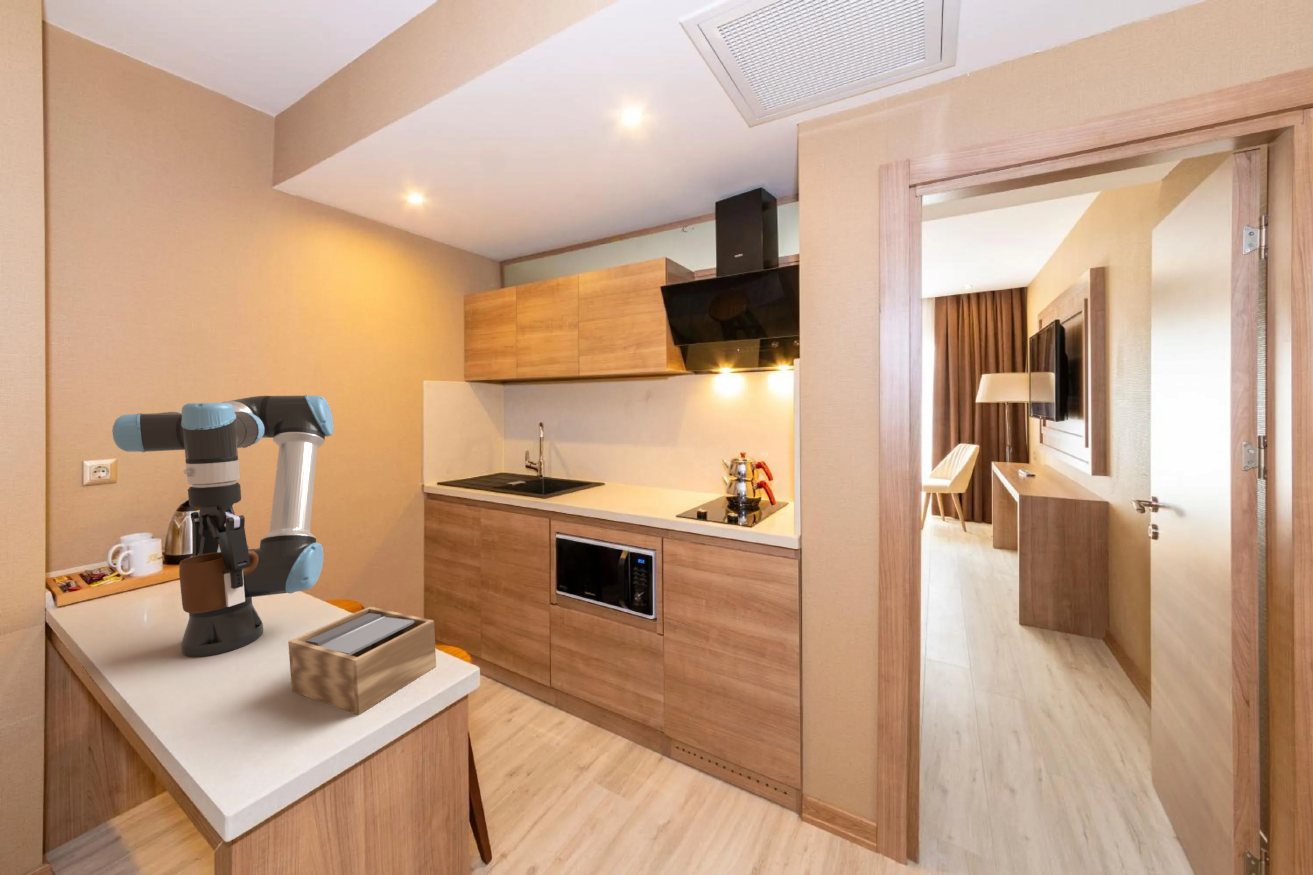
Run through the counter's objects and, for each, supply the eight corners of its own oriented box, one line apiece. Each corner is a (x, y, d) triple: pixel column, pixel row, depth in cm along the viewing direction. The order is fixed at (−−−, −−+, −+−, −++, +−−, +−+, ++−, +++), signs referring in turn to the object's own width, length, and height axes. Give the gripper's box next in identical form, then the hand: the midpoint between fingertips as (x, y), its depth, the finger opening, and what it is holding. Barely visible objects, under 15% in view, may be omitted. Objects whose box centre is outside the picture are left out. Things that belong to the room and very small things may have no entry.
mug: (251, 588, 104) (248, 543, 103) (270, 594, 100) (266, 548, 100) (175, 609, 93) (171, 560, 93) (193, 617, 90) (188, 566, 89)
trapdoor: (305, 659, 101) (303, 641, 101) (373, 628, 115) (371, 612, 115) (350, 669, 96) (348, 649, 96) (415, 634, 109) (414, 617, 109)
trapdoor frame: (291, 691, 101) (288, 641, 100) (373, 649, 118) (370, 606, 117) (359, 714, 93) (356, 660, 93) (436, 666, 110) (433, 620, 109)
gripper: (161, 483, 96) (172, 599, 98) (220, 490, 87) (230, 617, 89) (209, 478, 103) (218, 586, 104) (268, 483, 94) (276, 601, 96)
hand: (223, 600), depth 97 cm, fingers closed on mug, 7 cm apart
